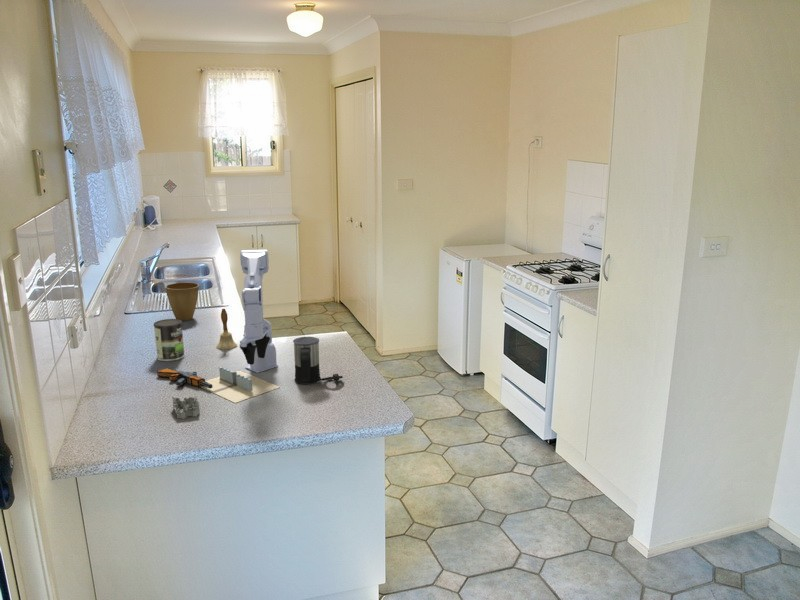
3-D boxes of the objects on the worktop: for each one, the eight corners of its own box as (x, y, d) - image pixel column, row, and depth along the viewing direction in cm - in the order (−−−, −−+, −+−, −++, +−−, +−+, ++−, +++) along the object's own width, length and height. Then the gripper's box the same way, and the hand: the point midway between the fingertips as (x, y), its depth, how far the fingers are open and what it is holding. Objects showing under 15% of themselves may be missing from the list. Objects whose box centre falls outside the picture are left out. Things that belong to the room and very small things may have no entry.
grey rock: (172, 408, 210) (171, 396, 209) (196, 404, 213) (195, 392, 212) (176, 420, 201) (174, 408, 200) (201, 416, 204) (200, 404, 203)
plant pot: (183, 324, 299) (180, 290, 295) (161, 320, 306) (158, 286, 302) (208, 316, 311) (205, 284, 307) (186, 312, 318) (183, 280, 314)
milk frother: (292, 377, 235) (290, 337, 232) (334, 371, 241) (333, 332, 237) (300, 391, 222) (299, 350, 219) (345, 385, 228) (344, 344, 224)
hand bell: (225, 351, 263) (222, 312, 259) (212, 347, 268) (209, 309, 264) (241, 345, 270) (239, 308, 266) (228, 342, 274) (225, 305, 270)
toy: (153, 377, 235) (178, 370, 242) (196, 395, 218) (221, 386, 226) (152, 371, 234) (177, 363, 242) (195, 388, 218) (220, 379, 225)
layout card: (239, 370, 241) (239, 370, 241) (279, 387, 226) (279, 386, 225) (195, 384, 228) (195, 383, 228) (235, 403, 213) (235, 402, 213)
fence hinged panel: (233, 384, 227) (232, 372, 226) (236, 383, 228) (235, 371, 227) (249, 391, 221) (249, 379, 220) (252, 390, 222) (252, 378, 221)
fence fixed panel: (235, 383, 228) (234, 371, 227) (232, 384, 228) (232, 372, 227) (222, 377, 234) (221, 366, 233) (220, 378, 233) (219, 367, 232)
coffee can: (190, 354, 259) (187, 320, 256) (173, 362, 250) (170, 327, 246) (168, 351, 263) (165, 317, 259) (151, 359, 253) (147, 324, 250)
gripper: (255, 315, 229) (257, 352, 232) (231, 327, 216) (233, 366, 219) (273, 317, 226) (275, 355, 230) (249, 329, 213) (251, 368, 217)
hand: (256, 360), depth 224 cm, fingers open, 6 cm apart
